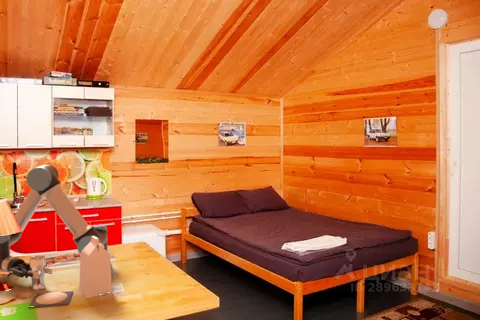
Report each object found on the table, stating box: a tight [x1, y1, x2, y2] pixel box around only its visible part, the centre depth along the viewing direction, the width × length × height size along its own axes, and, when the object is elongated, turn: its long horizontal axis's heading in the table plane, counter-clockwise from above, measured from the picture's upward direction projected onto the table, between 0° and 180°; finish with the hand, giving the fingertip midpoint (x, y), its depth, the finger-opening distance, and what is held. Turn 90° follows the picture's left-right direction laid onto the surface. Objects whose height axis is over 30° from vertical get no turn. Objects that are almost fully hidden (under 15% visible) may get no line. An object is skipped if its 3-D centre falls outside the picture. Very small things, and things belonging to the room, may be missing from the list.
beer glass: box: [29, 255, 47, 291], centre depth 202 cm, size 7×7×15 cm
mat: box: [28, 290, 74, 308], centre depth 189 cm, size 16×14×1 cm
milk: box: [78, 236, 113, 299], centre depth 199 cm, size 12×12×26 cm
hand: (45, 273), depth 199 cm, fingers closed on beer glass, 6 cm apart
